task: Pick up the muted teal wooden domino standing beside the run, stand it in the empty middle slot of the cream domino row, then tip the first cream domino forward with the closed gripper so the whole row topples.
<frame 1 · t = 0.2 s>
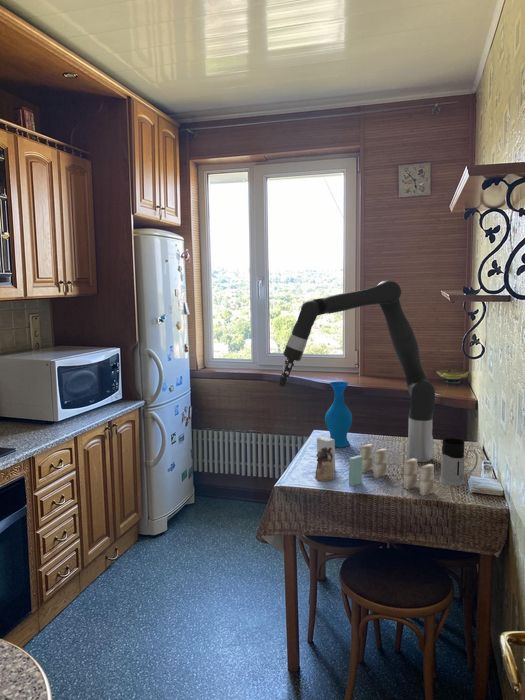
hand: (281, 383, 216), 31 cm above the table, tool tilted 20°, fingers open, 8 cm apart
domino 1: (366, 470, 204), on the table
vase: (338, 445, 236), on the table
skincare box: (325, 468, 207), on the table
domino 4: (410, 487, 187), on the table
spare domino: (355, 483, 191), on the table
figurine: (324, 478, 197), on the table
grey black pitcher: (458, 483, 191), on the table
domino 2: (379, 475, 199), on the table
domino 5: (426, 493, 182), on the table
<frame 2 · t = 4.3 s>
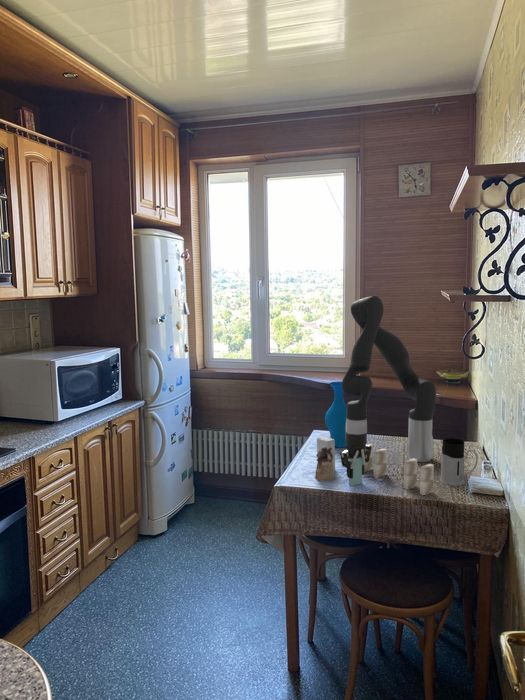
hand: (355, 475, 191), 3 cm above the table, tool pointing down, fingers closed on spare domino, 5 cm apart
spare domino: (355, 483, 191), on the table, touching gripper
everything else where it was.
when the fingers open (4 cm above the table, at t = 10.4 s): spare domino stays where it is, on the table.
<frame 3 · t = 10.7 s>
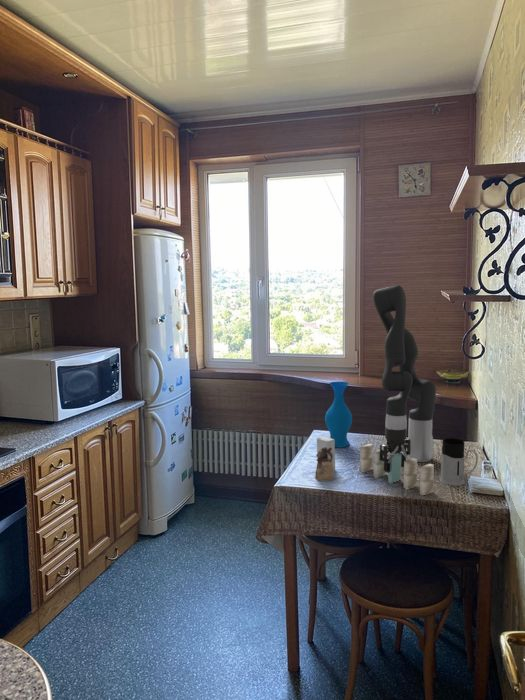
hand: (394, 469, 192), 5 cm above the table, tool pointing down, fingers open, 8 cm apart
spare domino: (394, 481, 193), on the table
everything else where it was.
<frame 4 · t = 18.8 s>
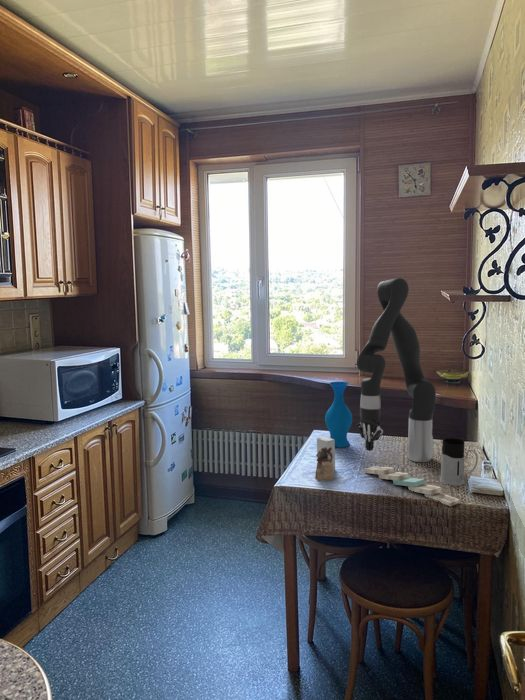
hand: (369, 450, 202), 9 cm above the table, tool pointing down, fingers closed
domino 1: (369, 469, 203), point 1 cm above the table, tilted 77°, touching domino 2
domino 4: (413, 486, 186), point 1 cm above the table, tilted 80°, touching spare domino
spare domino: (397, 480, 191), point 1 cm above the table, tilted 77°, touching domino 4
domino 2: (383, 474, 197), point 1 cm above the table, tilted 77°, touching domino 1
domino 5: (429, 493, 181), on the table, tilted 90°
everything else where it was.
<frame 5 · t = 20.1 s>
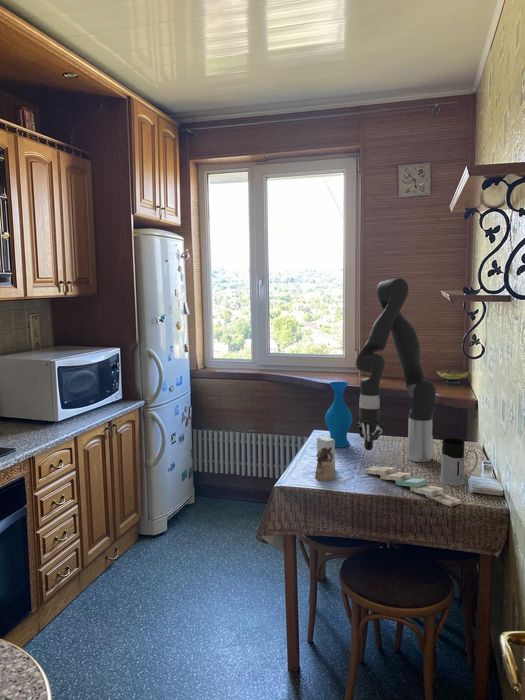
hand: (368, 449, 202), 9 cm above the table, tool pointing down, fingers closed
domino 4: (415, 487, 185), point 1 cm above the table, tilted 80°, touching domino 5, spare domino
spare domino: (400, 481, 191), point 1 cm above the table, tilted 77°, touching domino 2, domino 4
domino 2: (384, 475, 197), point 1 cm above the table, tilted 77°, touching domino 1, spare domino
domino 5: (430, 494, 181), on the table, tilted 90°, touching domino 4
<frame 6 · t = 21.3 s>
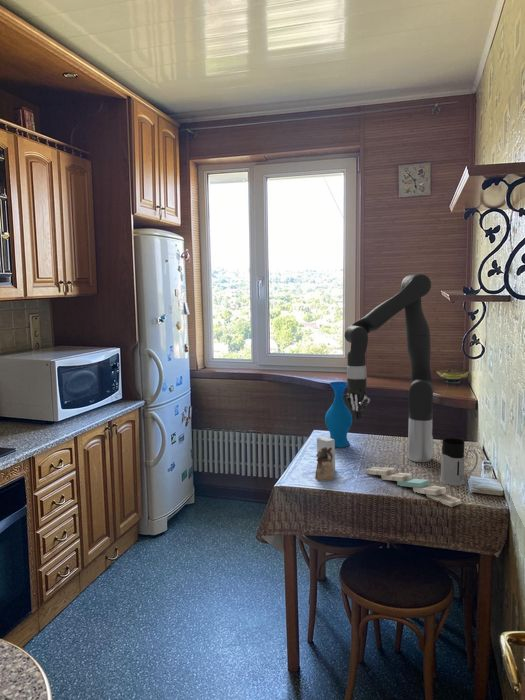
hand: (357, 419, 209), 18 cm above the table, tool pointing down, fingers closed
domino 4: (418, 488, 184), point 1 cm above the table, tilted 77°, touching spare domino
domino 5: (431, 494, 180), on the table, tilted 90°
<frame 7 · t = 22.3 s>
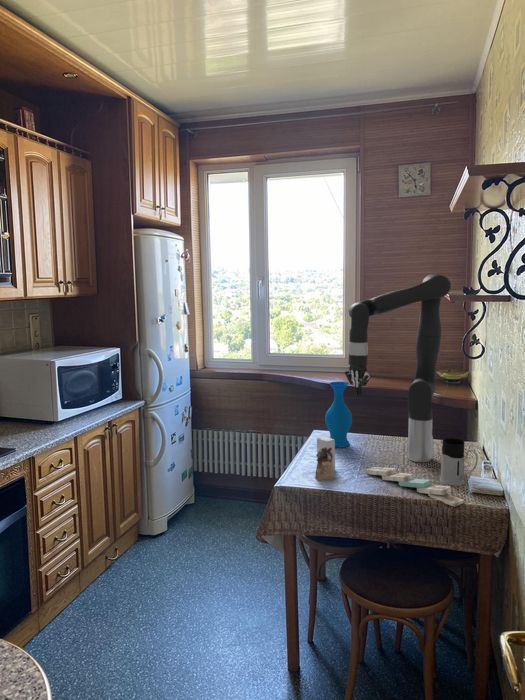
hand: (357, 395, 212), 27 cm above the table, tool pointing down, fingers closed
domino 1: (370, 470, 202), point 1 cm above the table, tilted 78°
domino 4: (421, 488, 184), point 1 cm above the table, tilted 78°, touching domino 5, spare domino
domino 2: (386, 476, 196), point 1 cm above the table, tilted 77°, touching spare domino
domino 5: (432, 494, 180), on the table, tilted 90°, touching domino 4
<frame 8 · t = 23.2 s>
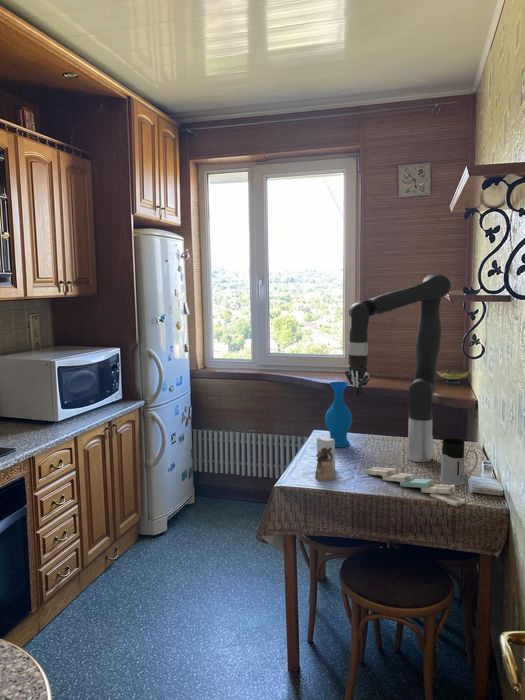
hand: (357, 395, 212), 27 cm above the table, tool pointing down, fingers closed
domino 1: (370, 470, 202), point 1 cm above the table, tilted 78°, touching domino 2
domino 2: (386, 476, 196), point 1 cm above the table, tilted 77°, touching domino 1, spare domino
at the end: domino 5 tilted 90°; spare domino tilted 78°; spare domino inside the target area (0.5 cm from its centre), point 0.8 cm above the table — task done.
